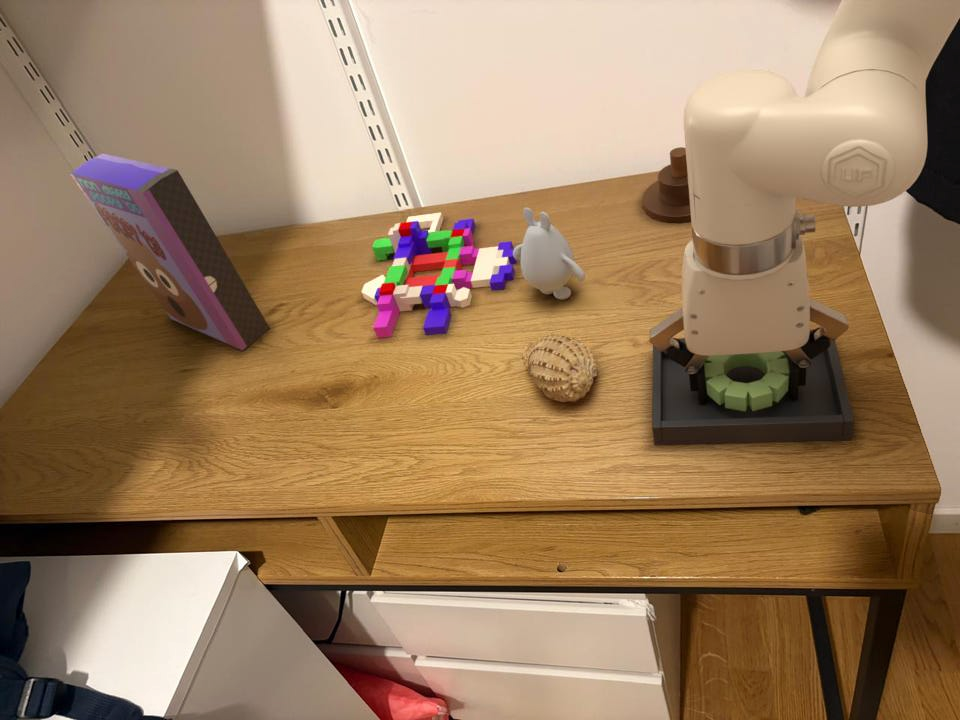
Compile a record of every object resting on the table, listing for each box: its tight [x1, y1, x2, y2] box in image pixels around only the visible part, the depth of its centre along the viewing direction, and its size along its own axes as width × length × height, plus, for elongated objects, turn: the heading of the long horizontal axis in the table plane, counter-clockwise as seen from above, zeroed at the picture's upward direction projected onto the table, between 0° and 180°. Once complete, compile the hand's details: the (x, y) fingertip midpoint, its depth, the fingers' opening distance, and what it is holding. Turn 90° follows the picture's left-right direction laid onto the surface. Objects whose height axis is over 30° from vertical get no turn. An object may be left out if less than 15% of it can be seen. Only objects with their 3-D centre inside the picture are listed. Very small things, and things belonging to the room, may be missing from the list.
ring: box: [704, 351, 789, 411], centre depth 68 cm, size 7×8×2 cm
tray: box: [651, 329, 855, 446], centre depth 69 cm, size 17×12×2 cm
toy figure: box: [513, 206, 586, 300], centre depth 84 cm, size 11×6×12 cm, turn 47°
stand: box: [642, 146, 691, 224], centre depth 93 cm, size 10×10×7 cm
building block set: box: [360, 212, 518, 339], centre depth 96 cm, size 25×20×4 cm
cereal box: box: [69, 153, 271, 352], centre depth 94 cm, size 17×5×24 cm, turn 53°
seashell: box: [521, 334, 598, 403], centre depth 77 cm, size 8×6×10 cm
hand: (746, 389), depth 70 cm, fingers closed on ring, 7 cm apart
